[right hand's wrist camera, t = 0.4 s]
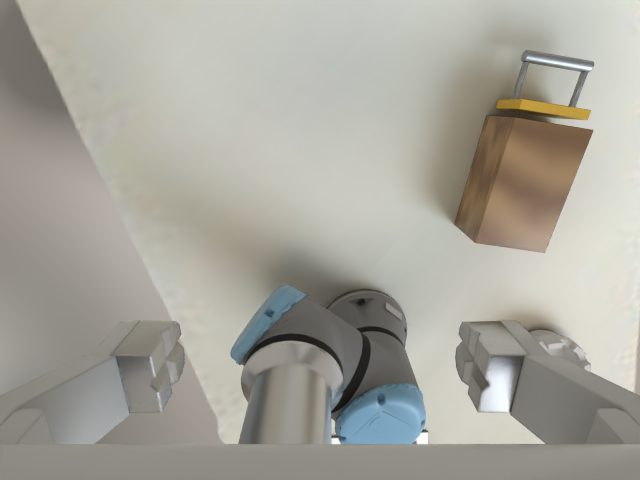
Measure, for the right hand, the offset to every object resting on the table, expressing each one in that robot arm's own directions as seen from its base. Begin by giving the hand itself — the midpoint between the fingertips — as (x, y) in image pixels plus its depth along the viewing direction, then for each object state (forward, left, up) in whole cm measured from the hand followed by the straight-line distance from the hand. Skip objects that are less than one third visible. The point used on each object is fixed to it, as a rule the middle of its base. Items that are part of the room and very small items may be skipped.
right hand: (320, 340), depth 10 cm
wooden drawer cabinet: (+4, +28, -47) cm, 55 cm away
